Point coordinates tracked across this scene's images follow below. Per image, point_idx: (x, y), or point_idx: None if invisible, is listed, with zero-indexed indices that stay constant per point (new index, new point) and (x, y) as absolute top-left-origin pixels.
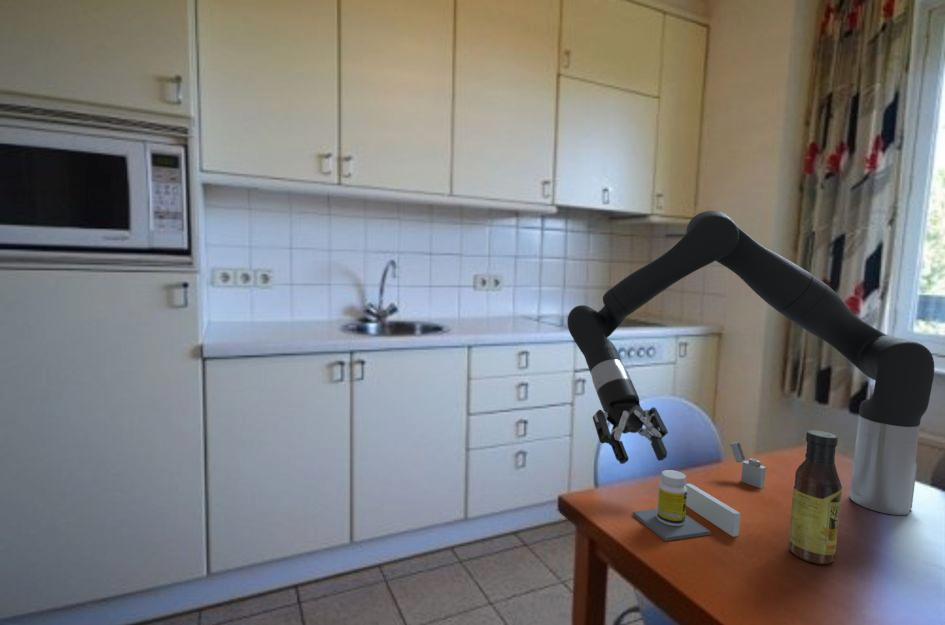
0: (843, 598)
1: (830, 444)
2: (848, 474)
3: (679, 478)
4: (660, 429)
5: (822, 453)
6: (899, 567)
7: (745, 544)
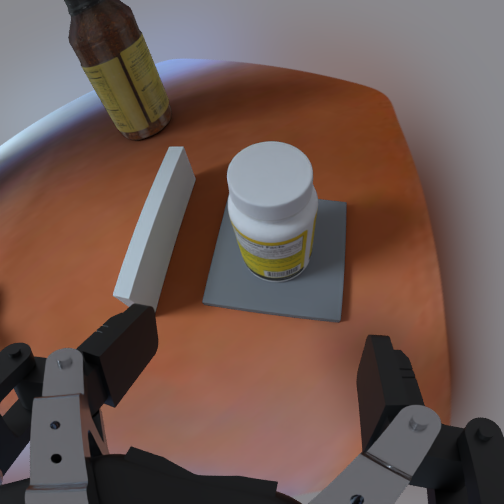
0: (216, 75)
1: None
2: None
3: (280, 143)
4: (18, 377)
5: None
6: (96, 101)
7: (201, 158)
